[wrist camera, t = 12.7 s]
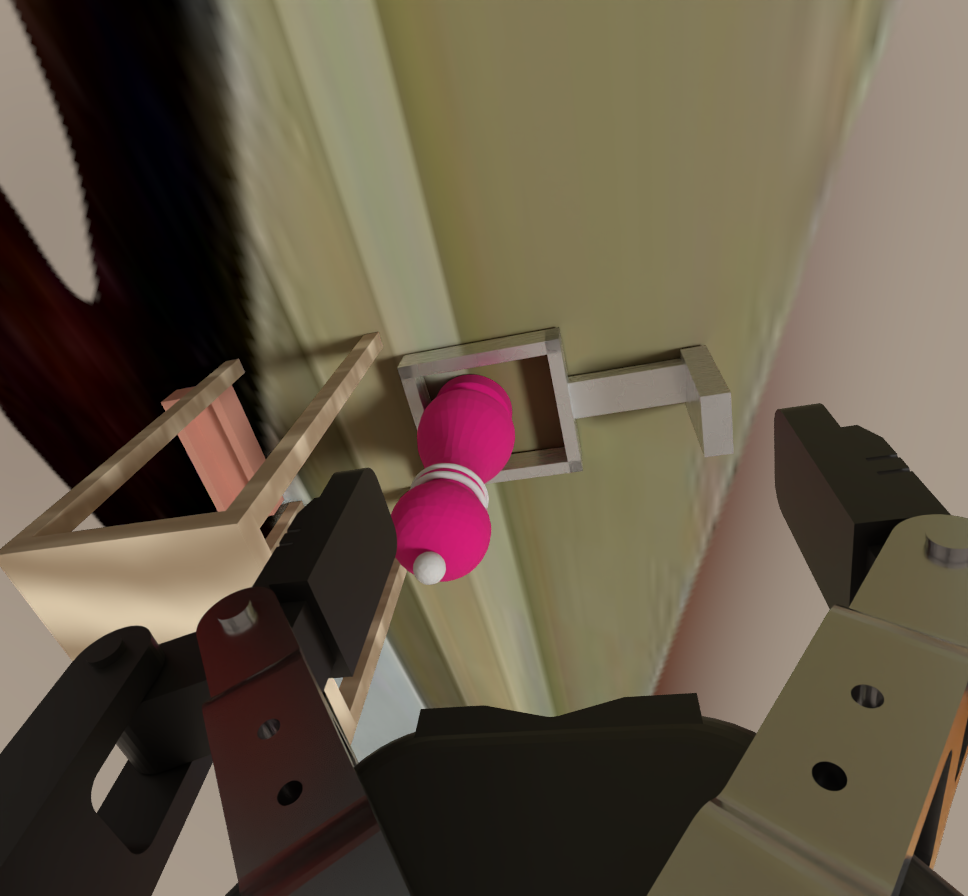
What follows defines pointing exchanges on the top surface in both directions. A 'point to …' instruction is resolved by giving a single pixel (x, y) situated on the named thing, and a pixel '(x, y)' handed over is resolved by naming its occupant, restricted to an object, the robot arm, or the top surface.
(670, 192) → the top surface
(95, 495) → the shelf tunnel
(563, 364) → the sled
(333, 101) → the top surface
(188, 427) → the pit tray
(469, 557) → the pepper mill
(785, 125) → the top surface
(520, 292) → the top surface
